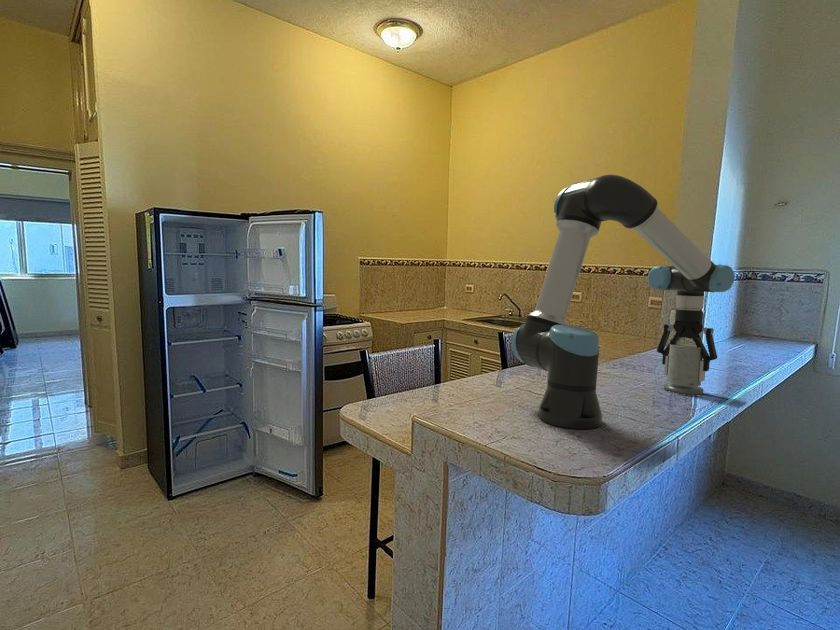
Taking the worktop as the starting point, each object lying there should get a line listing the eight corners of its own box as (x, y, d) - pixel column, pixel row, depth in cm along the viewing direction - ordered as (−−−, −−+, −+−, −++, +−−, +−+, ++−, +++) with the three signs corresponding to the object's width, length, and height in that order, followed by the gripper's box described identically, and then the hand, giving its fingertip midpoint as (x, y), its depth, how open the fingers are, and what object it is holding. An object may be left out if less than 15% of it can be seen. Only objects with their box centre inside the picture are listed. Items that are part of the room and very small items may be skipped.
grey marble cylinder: (699, 387, 135) (702, 348, 134) (664, 382, 141) (667, 345, 140) (702, 382, 143) (705, 345, 142) (669, 377, 149) (671, 342, 148)
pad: (663, 392, 140) (663, 387, 140) (664, 385, 150) (664, 380, 150) (703, 397, 135) (704, 392, 135) (702, 390, 144) (702, 385, 144)
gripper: (734, 311, 134) (727, 383, 136) (658, 306, 151) (653, 370, 153) (726, 312, 129) (719, 386, 131) (648, 307, 146) (643, 372, 148)
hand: (683, 377), depth 142 cm, fingers closed on grey marble cylinder, 9 cm apart
